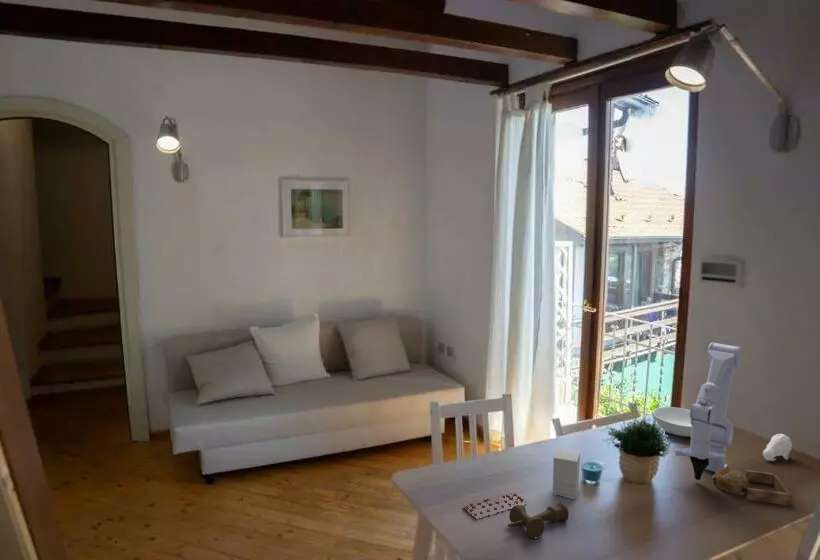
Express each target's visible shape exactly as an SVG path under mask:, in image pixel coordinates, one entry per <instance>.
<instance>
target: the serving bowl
mask: <svg viewBox="0 0 820 560" xmlns="http://www.w3.org/2000/svg"><path fill="white" fill-rule="evenodd" d="M690 410H691V409H687V408H682V407H676V406H675V407H674V406H662V407H658V408H655V409H653V411H652V419H653V420H654V419H655V420H656V421H657V423H658V424H659V426H660V427H661V428H663V429H666V431H665V432H666V433H668V434H671V435H674V436H679V437H689V438H691V430H692V425H691V419H690ZM660 427H659V428H660ZM661 428H660V429H661Z"/></svg>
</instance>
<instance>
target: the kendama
mask: <svg viewBox="0 0 820 560" xmlns="http://www.w3.org/2000/svg"><path fill="white" fill-rule="evenodd" d="M508 516H509V520H510V522H511V523H508V524H507V527H516V526H520V525H521V526H523V527H524V528H525V531H526V535H527V537H528V538H529V539H530V538H535V537H539V536H540V537H541V536H542V535H543V534H544V532H545V527H546V525H545V522H550V521H551V522H550V523H553V524H555V523H556V522H557V521H562V522H564V521H565V522H567V521H568V520H569V516H570V514H569V509H568V508H567V506H566V505H565V504H564V503H563V502H558V503H556V506H555V507H554V506H553V507H552V506H547V507H546V509H545V511H543V512H541V513H538V514H536V515H534V516H530V515H529V514H528V513H527V510H526V508H525V505H524V506H522V505H516V506H514V507H513V508H512V509H511V510H509V515H508ZM512 522H513V523H512ZM540 537H539V538H540Z"/></svg>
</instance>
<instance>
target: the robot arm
mask: <svg viewBox="0 0 820 560" xmlns="http://www.w3.org/2000/svg"><path fill="white" fill-rule="evenodd" d="M706 355H707V358H708V363H709V364H710V365H709V371H708V375H707V379H706V382H705V383H702V385H701V387H700V388H699V392H698V395H697V397H696V401H695V403H692V404H691V406H690V409H689V410H690V419H691V425H692V430H691V437H690V442H689V443H690V445H689V448H688V447H687V448H679V447H678V448H677V447H674V455H675V457H680V456H681V457H686V458H687V457H688V458H689V459H690V462H691V466H692V468H693V473H694V475H693V476H694V479H695V480H696V481H701V478H702V476H703V474H704V472H705V470H706V471H710V472H717V471H719V470H721V469H727V468H728V464H727V463H726V457H727V447H729V446H730V445H732V442H733V439H734V425H733V423H732V421H730V419H728V417H727V411H728V406H729V401H730V400H729V399H730V394H731V389H732V383H733V382H732V381H733V377H734V375H735V374H734V373H735V372H736V371H740V370H741V367H742V362H743V356H744V352H743V348H742V347H741V346H739V345H738V346H737V345H730V344H724V343H717V342H714V341H712V342H710V343H709V344H708V346H707V352H706Z"/></svg>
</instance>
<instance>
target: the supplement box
mask: <svg viewBox="0 0 820 560" xmlns="http://www.w3.org/2000/svg"><path fill="white" fill-rule="evenodd" d="M580 456H581V453H580V452H577V451H572V450H566V449H561V448H557V450H556V452H555V454H554V456H553V464H552V466H553V470H552V472H553V473H552V495H553V494H555V495H554V496H556V495H560V496H559V497H561V496H564V497H563V498H566V497H567V499H571V500H576V499H577V495H578V492H579V490H580V489H579V487H580V486H579V485H580V483H579V481H580V462H581V460H580V459H581V457H580Z"/></svg>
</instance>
